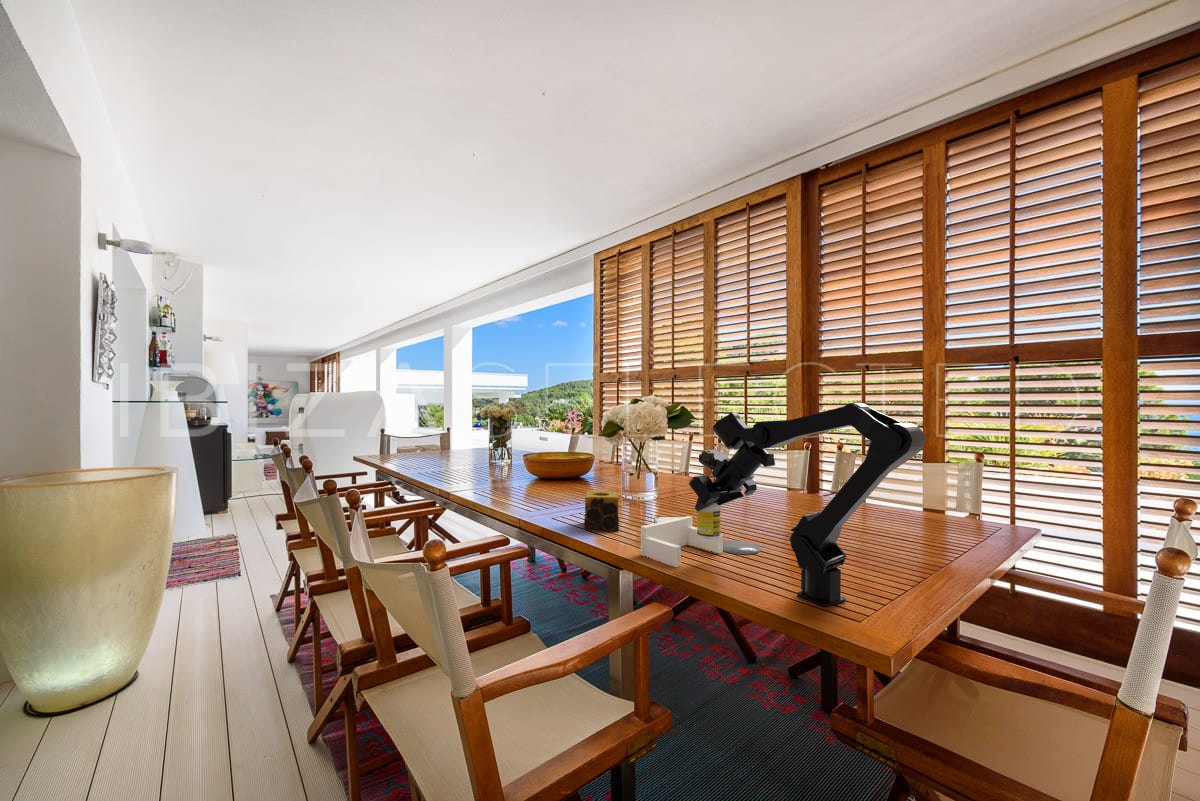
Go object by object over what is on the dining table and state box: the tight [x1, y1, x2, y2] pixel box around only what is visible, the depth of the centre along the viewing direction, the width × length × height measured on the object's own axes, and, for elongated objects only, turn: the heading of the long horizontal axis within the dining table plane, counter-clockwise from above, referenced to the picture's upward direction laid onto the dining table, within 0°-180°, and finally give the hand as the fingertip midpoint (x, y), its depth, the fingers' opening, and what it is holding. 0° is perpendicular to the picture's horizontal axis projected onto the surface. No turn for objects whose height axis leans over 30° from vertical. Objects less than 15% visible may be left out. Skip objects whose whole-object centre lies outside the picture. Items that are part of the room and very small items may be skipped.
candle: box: [583, 490, 620, 532], centre depth 150 cm, size 10×10×10 cm
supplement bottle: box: [696, 504, 722, 539], centre depth 118 cm, size 5×5×10 cm
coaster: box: [723, 539, 762, 555], centre depth 130 cm, size 11×11×1 cm
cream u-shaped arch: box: [640, 515, 724, 568], centre depth 125 cm, size 11×18×7 cm, turn 130°
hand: (704, 508), depth 119 cm, fingers closed on supplement bottle, 5 cm apart
